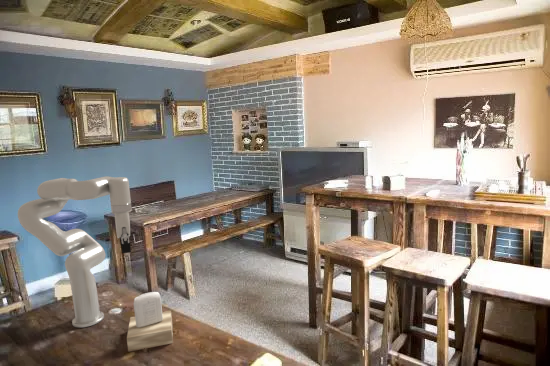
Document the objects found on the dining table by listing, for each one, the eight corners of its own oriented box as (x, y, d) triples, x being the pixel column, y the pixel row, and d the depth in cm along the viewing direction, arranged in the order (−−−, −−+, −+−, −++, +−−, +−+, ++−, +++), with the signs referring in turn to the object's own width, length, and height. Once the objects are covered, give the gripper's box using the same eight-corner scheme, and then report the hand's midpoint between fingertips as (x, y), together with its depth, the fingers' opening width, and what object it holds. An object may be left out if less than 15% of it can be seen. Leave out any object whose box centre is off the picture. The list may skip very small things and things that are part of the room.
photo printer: (161, 316, 155) (158, 288, 153) (164, 321, 152) (160, 292, 149) (135, 324, 150) (131, 295, 148) (137, 329, 147) (133, 299, 144)
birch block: (132, 330, 157) (130, 317, 156) (172, 323, 161) (170, 310, 160) (128, 352, 142) (126, 337, 141) (172, 344, 146) (171, 329, 145)
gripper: (110, 205, 159) (115, 244, 162) (111, 213, 144) (116, 257, 147) (130, 203, 162) (134, 241, 165) (133, 211, 147) (137, 253, 150)
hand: (125, 249), depth 156 cm, fingers open, 9 cm apart
